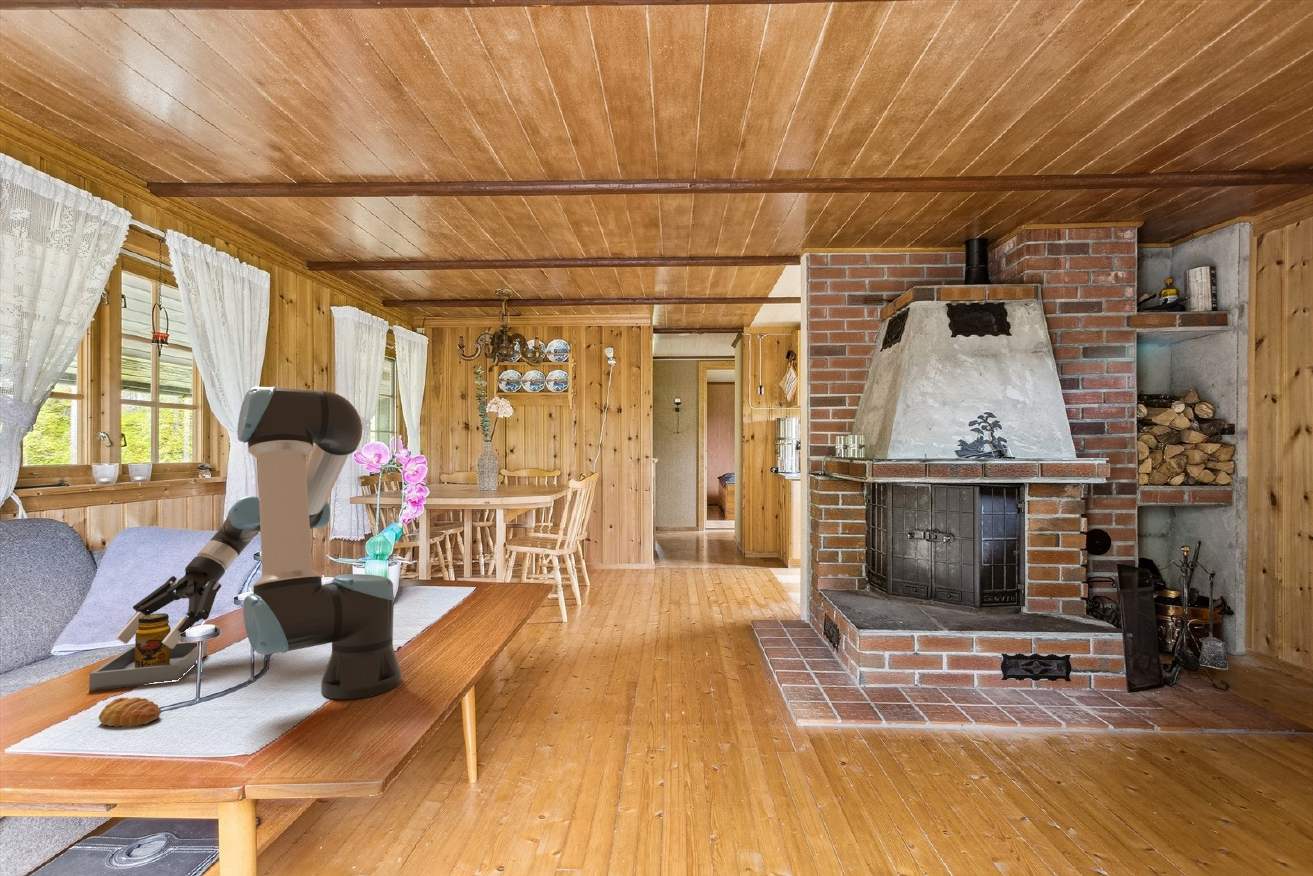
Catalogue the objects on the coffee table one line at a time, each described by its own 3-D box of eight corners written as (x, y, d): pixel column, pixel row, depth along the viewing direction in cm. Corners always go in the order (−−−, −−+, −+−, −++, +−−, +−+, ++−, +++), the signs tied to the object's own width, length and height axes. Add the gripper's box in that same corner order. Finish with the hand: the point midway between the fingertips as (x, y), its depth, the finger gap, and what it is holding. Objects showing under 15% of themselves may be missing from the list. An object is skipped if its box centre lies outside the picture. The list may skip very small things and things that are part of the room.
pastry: (172, 715, 114) (173, 695, 114) (136, 732, 107) (136, 710, 107) (130, 712, 115) (131, 691, 115) (92, 727, 108) (92, 706, 109)
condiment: (140, 677, 131) (142, 621, 131) (122, 670, 135) (124, 616, 135) (179, 667, 137) (181, 613, 138) (161, 661, 141) (162, 609, 142)
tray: (177, 682, 130) (178, 665, 130) (89, 691, 125) (89, 673, 125) (207, 655, 148) (207, 640, 148) (130, 662, 142) (130, 646, 142)
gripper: (260, 575, 149) (198, 656, 134) (182, 570, 155) (115, 647, 140) (241, 556, 144) (175, 638, 129) (161, 552, 150) (89, 630, 135)
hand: (143, 643), depth 134 cm, fingers open, 13 cm apart
